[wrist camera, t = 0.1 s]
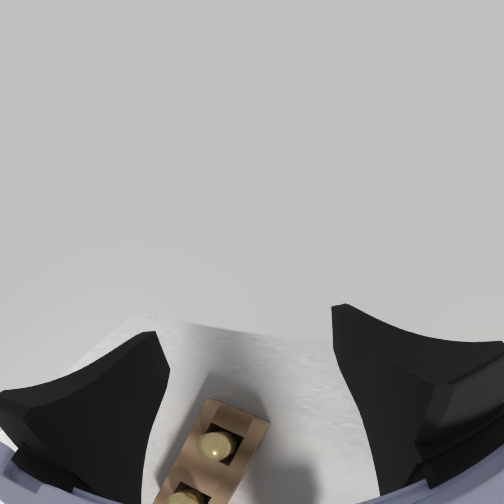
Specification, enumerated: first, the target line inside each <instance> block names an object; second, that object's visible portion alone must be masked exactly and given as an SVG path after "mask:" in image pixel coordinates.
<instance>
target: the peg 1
mask: <svg viewBox="0 0 504 504" xmlns="http://www.w3.org/2000/svg"><path fill="white" fill-rule="evenodd" d="M164 504H205V498H204V496H203V495H202V494H201V493H200V492H199V491H198V490H196V489H193V488H185V489H183V490H181V491H179V492H177V493H175V494H173V495H171V496H169V497H168V498H166V499H165V501H164Z"/></svg>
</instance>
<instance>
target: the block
mask: <svg viewBox="0 0 504 504" xmlns="http://www.w3.org/2000/svg"><path fill="white" fill-rule="evenodd" d="M269 425H270V422H267V421H265V420H262V419H260V418H257V417H255V416H252V415H250V414H247V413H245V412H243V411H240V410H238V409H236V408H234V407H231V406H229V405H227V404H225V403H223V402H220V401H218V400H215V399H210V398H207V400H206V402H205V404H204V406H203V408H202V410H201V412H200V414H199V416H198V418H197V420H196V422H195V424H194V426H193V428H192V430H191V432H190V433H189V435H188V437H187V439H186V441H185V443H184V445H183V447H182V449H181V451H180V453H179V455H178V457H177V459H176V461H175V463H174V464H173V466H172V468H171V470H170V472H169V474H168V476H167V478H166V480H165V481H164V483H163V485H162V487H161V489H160V491H159V493H158V494H157V496H156V498H155V500H154V502H153V504H164V501H165V499H166V498H168V497H169V496H171V495H173V494H175V493H177V492H179V491H181V490H183V489H185V488H186V486H187V485H189V486H191V487H192V488H194V489H196V490H198V491H200V492H202V493H204V494H206V495H208V496H210V497H212V498H211V499H210V501H209V503H208V504H227V503H228V502H229V500H230V498H231V497H232V495H233V493H234V492H235V490H236V488H237V486H238V485H239V483H240V481H241V479H242V478H243V476H244V474H245V472H246V470H247V468H248V467H249V465H250V463H251V461H252V459H253V457H254V455H255V453H256V451H257V449H258V447H259V445H260V443H261V441H262V439H263V437H264V435H265V433H266V431H267V429H268V427H269ZM218 426H220V427H222V428H224V429H226V430H229V431H231V432H233V433H235V434H237V435H240V436H242V437H244V439H243V441H242V443H241V445H240V447H239V449H238V450H237V452H236V454H235V456H234V458H233V459H232V458H230V457H228V456H227V457H225V458H224V459H222V460H220V461H217V462H208V461H205V460H204V459H202V458H201V457H200V456H199V455H198V453H197V451H196V441H197V439H198V438H199V437H200V436H202V435H203V434H207V433H212V432H215V431H216V429H217V427H218Z"/></svg>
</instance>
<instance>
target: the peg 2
mask: <svg viewBox="0 0 504 504" xmlns="http://www.w3.org/2000/svg"><path fill="white" fill-rule="evenodd" d="M235 448H236V441H235V439H234V437H233V436H232V435H231V434H229V433H228V432H225V431H217V432H212V433H207V434H203V435H202V436H200V437H199V438H198V439H197V441H196V451H197V453H198V455H199V456H200V457H201V458H202V459H204V460H205V461H208V462H217V461H220V460H222V459H224V458H225V457H227V456H229V455H230V454H232V453H233V452H234V450H235Z"/></svg>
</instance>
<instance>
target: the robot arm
mask: <svg viewBox="0 0 504 504" xmlns="http://www.w3.org/2000/svg"><path fill="white" fill-rule="evenodd" d="M331 310H332V328H333V349H334V353H335V356H336V359H337V362H338V366H339V369H340V371H341V373H342V375H343V377H344V379H345V381H346V384H347V386H348V388H349V390H350V392H351V394H352V396H353V398H354V401H355V403H356V405H357V407H358V409H359V412H360V415H361V417H362V420H363V424H364V427H365V430H366V434H367V437H368V441H369V445H370V449H371V452H372V456H373V461H374V465H375V470H376V474H377V480H378V485H379V491H380V497H377V498H374V499H371V500H368V501H364V502H361V503H357V504H504V402H503V401H504V343H503V342H502V341H491V342H459V341H449V340H442V339H436V338H431V337H426V336H422V335H418V334H415V333H412V332H408V331H405V330H402V329H399V328H397V327H394V326H392V325H390V324H387V323H385V322H383V321H380V320H378V319H376V318H374V317H372V316H370V315H368V314H366V313H364V312H362V311H360V310H359V309H357V308H355V307H353V306H351V305H349V304H342V305H336V306H332V307H331ZM169 374H170V367H169V365H168V362H167V360H166V357H165V355H164V352H163V350H162V347H161V345H160V342H159V339H158V337H157V334H156V331H150V332H142V333H140V334H138V335H136V336H134V337H133V338H131V339H129V340H128V341H126V342H125V343H123V344H122V345H120V346H118V347H117V348H115V349H114V350H112V351H111V352H109V353H108V354H106V355H104V356H103V357H101V358H99V359H98V360H96V361H94V362H93V363H91V364H89V365H88V366H86V367H84V368H82V369H80V370H78V371H76V372H74V373H71V374H69V375H67V376H64V377H61V378H59V379H56V380H53V381H51V382H47V383H44V384H40V385H36V386H32V387H26V388H20V389H12V390H4V391H2V392H0V427H1V428H2V429H3V431H4V432H5V433H6V434H7V436H8V437H9V438H10V439H11V440H12V442H13V443H14V444H15V445H16V446H17V447H18V450H17V451H16V452H14V451H13V450H12V449H11V448H10V447H8V446H7V445H5V444H3V443H2V442H0V500H1V501H2V502H3V503H5V504H141V488H142V476H143V467H144V460H145V454H146V449H147V444H148V439H149V435H150V432H151V429H152V426H153V423H154V420H155V418H156V415H157V412H158V410H159V407H160V404H161V402H162V399H163V396H164V394H165V391H166V388H167V383H168V379H169Z"/></svg>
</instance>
